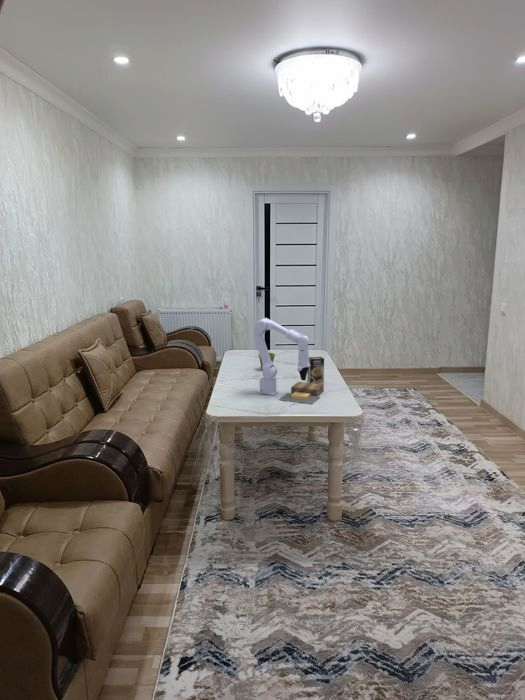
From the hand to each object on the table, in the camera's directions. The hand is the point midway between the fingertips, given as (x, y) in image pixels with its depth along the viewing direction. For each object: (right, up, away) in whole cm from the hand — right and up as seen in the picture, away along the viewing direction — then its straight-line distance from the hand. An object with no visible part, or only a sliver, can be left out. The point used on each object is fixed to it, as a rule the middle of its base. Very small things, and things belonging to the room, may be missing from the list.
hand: (303, 380), depth 293 cm
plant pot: (-20, +3, +59) cm, 63 cm away
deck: (+3, -8, +8) cm, 12 cm away
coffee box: (+10, -4, +28) cm, 30 cm away
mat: (-2, -10, -4) cm, 11 cm away
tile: (-2, -8, -3) cm, 9 cm away
